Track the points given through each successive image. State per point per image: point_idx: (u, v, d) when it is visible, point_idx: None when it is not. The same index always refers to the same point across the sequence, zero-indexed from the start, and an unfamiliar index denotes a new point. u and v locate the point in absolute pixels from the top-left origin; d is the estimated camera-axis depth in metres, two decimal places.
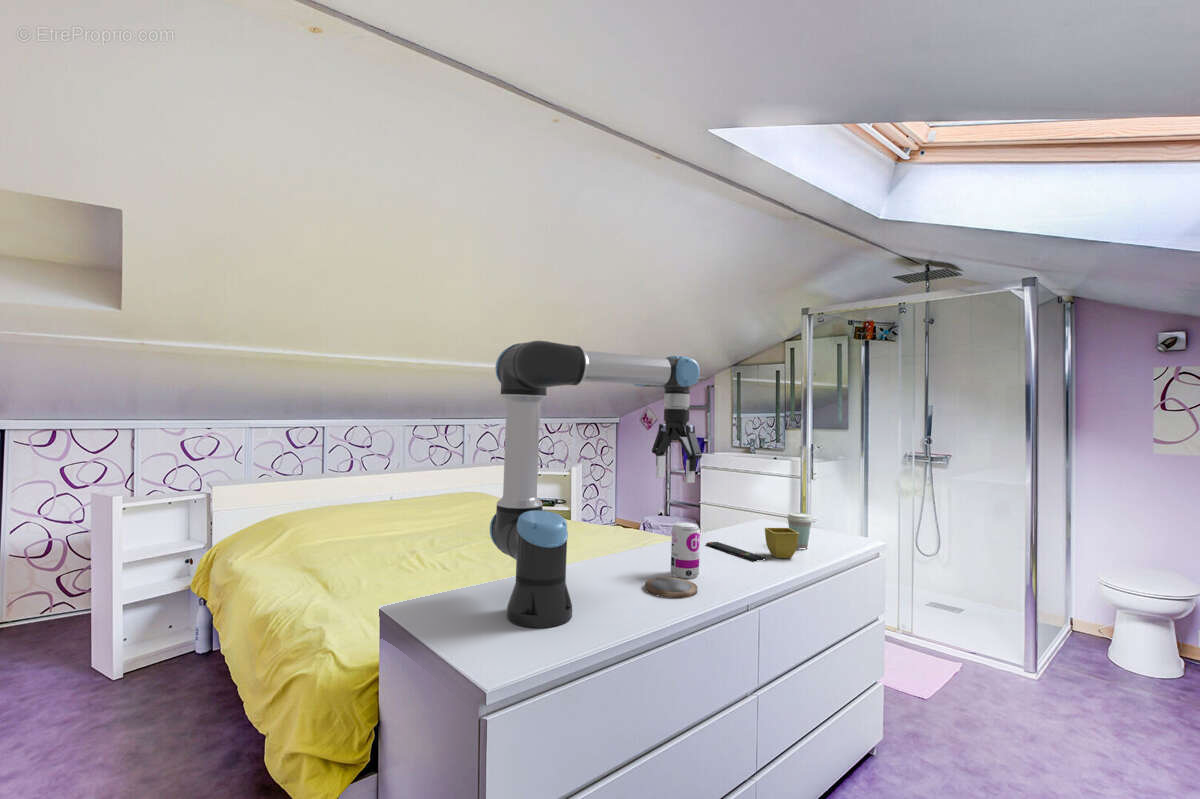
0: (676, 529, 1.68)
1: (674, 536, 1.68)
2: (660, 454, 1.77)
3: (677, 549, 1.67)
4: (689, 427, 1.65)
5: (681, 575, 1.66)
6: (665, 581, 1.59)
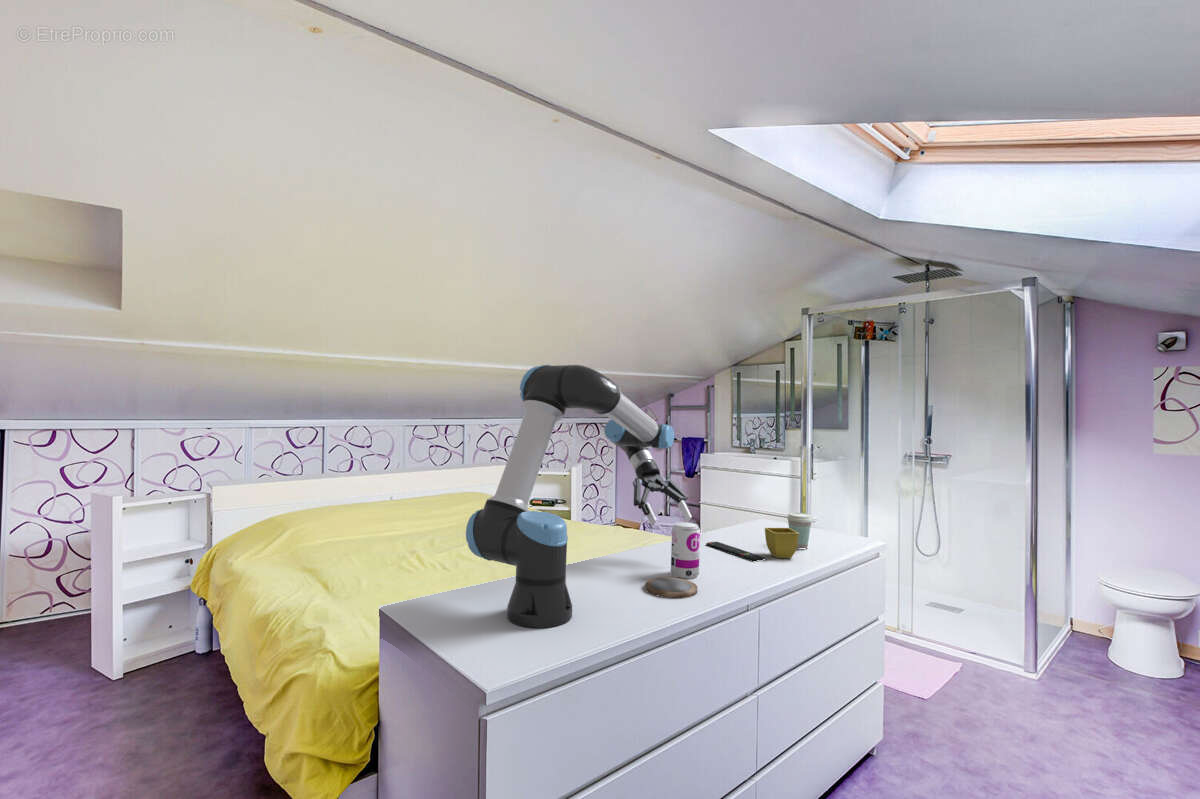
0: (676, 529, 1.68)
1: (674, 536, 1.68)
2: None
3: (677, 549, 1.67)
4: None
5: (681, 575, 1.66)
6: (665, 581, 1.59)
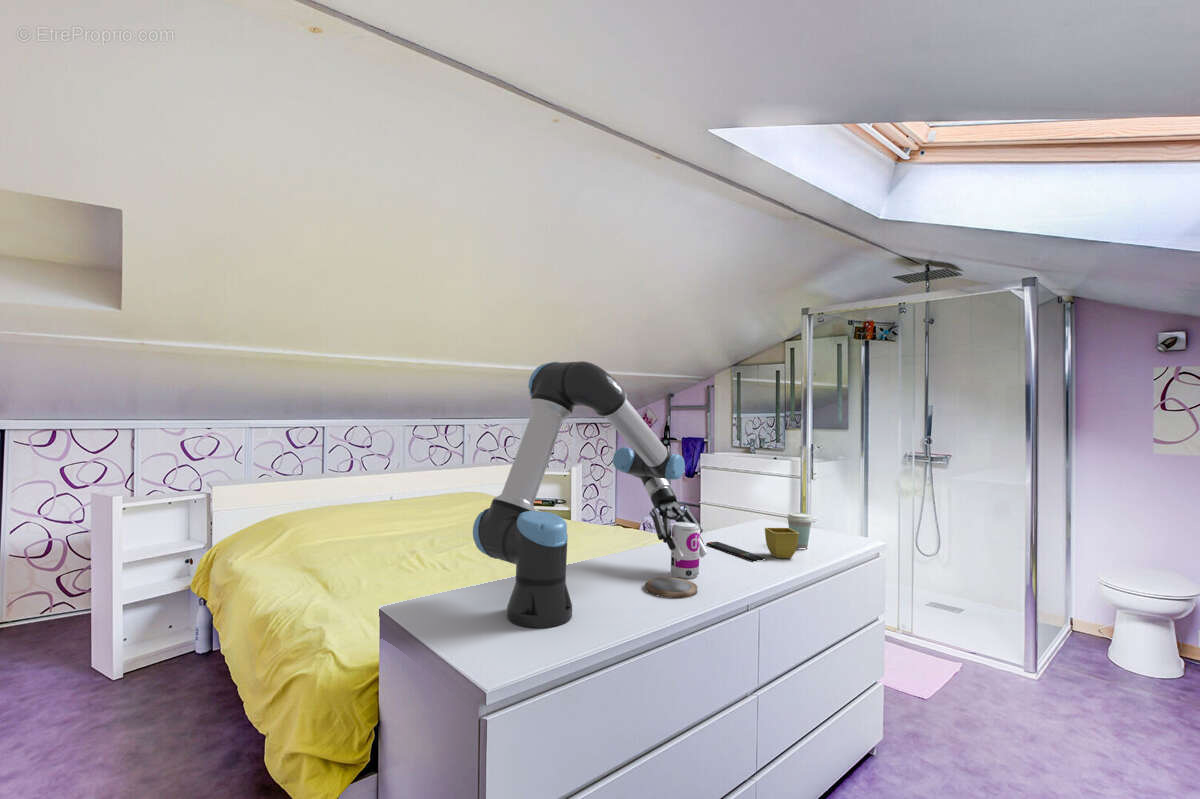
0: (676, 529, 1.68)
1: (674, 536, 1.68)
2: None
3: None
4: None
5: (681, 575, 1.66)
6: (665, 581, 1.59)
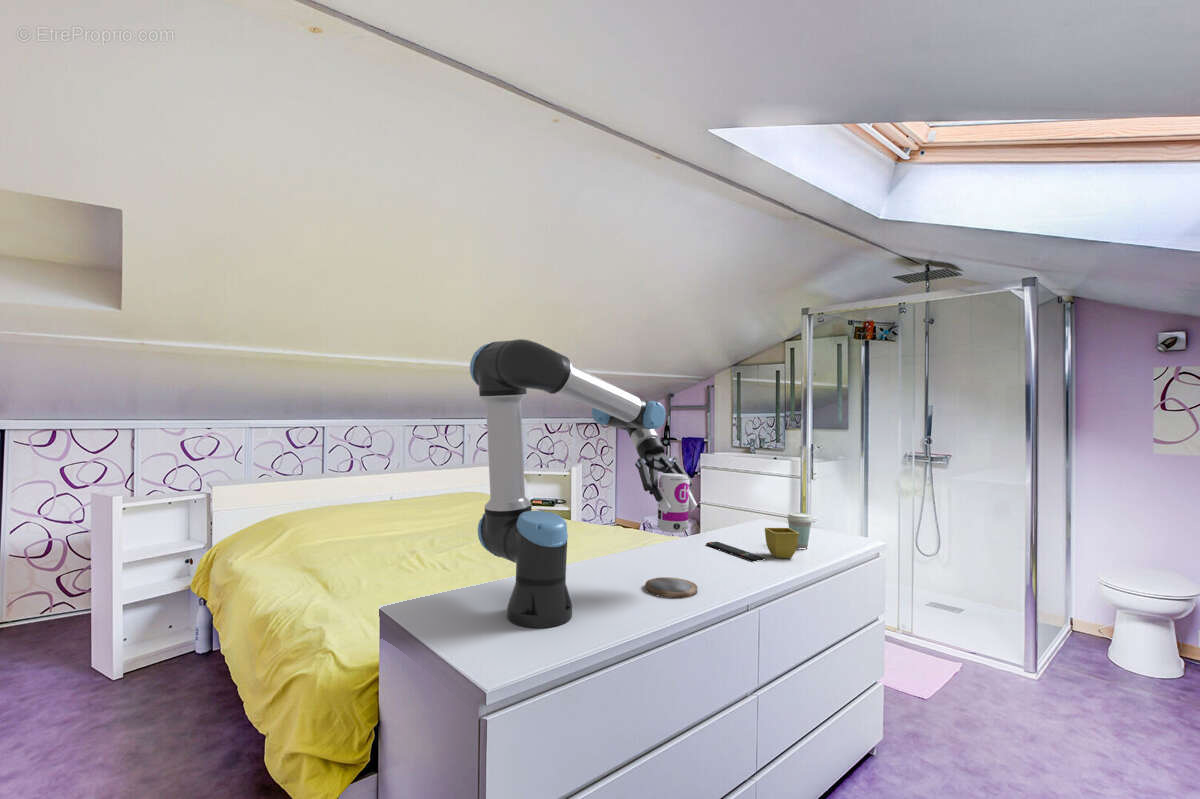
0: (663, 479, 1.54)
1: (661, 487, 1.54)
2: None
3: None
4: None
5: (668, 529, 1.52)
6: (665, 581, 1.59)
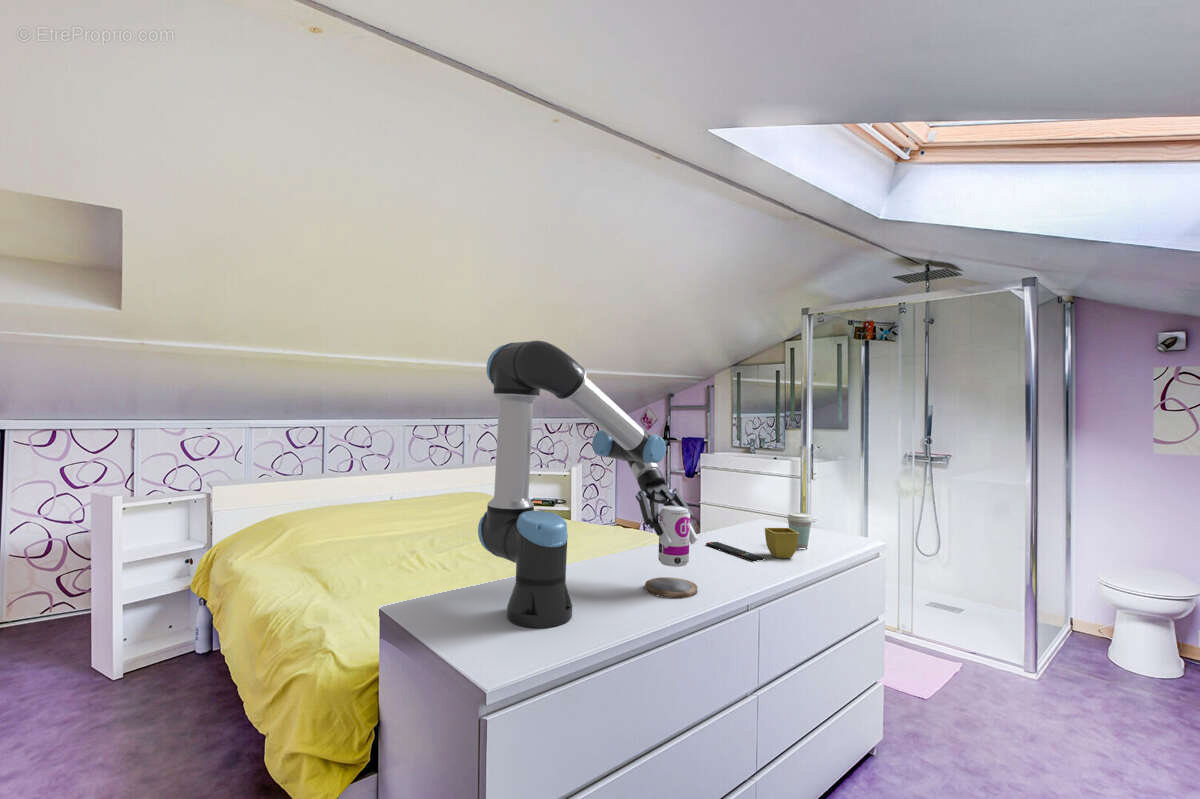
0: (664, 513, 1.54)
1: (662, 521, 1.55)
2: None
3: None
4: None
5: (669, 563, 1.53)
6: (665, 581, 1.59)
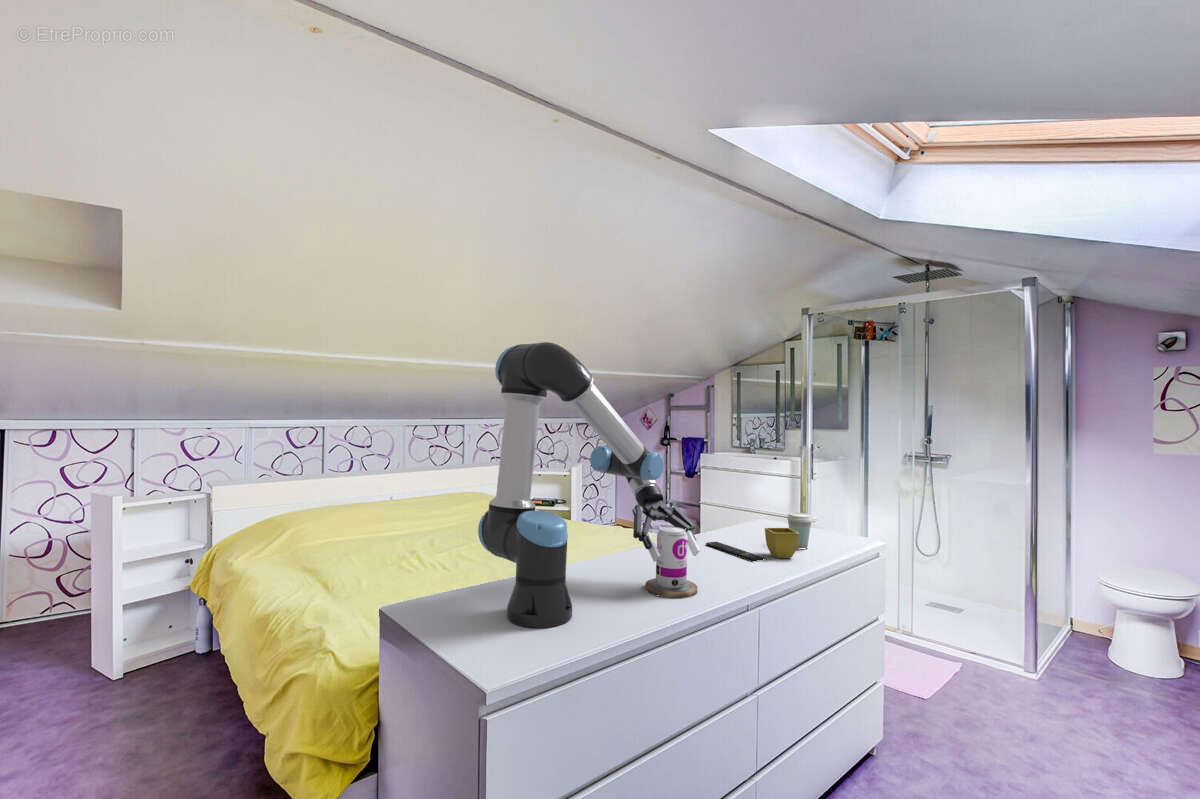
0: (661, 534, 1.54)
1: (659, 542, 1.54)
2: None
3: (663, 556, 1.53)
4: None
5: (667, 585, 1.52)
6: None
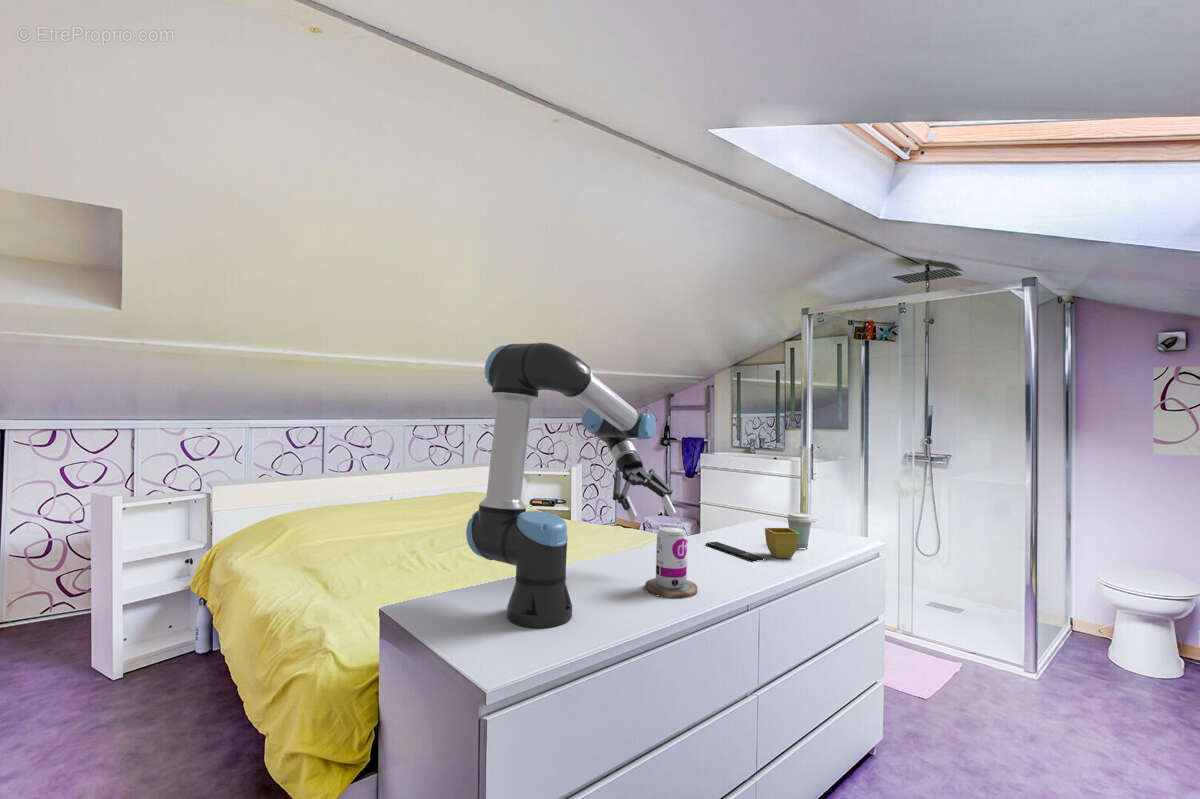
0: (661, 534, 1.54)
1: (659, 542, 1.54)
2: None
3: (663, 556, 1.53)
4: None
5: (667, 585, 1.52)
6: None
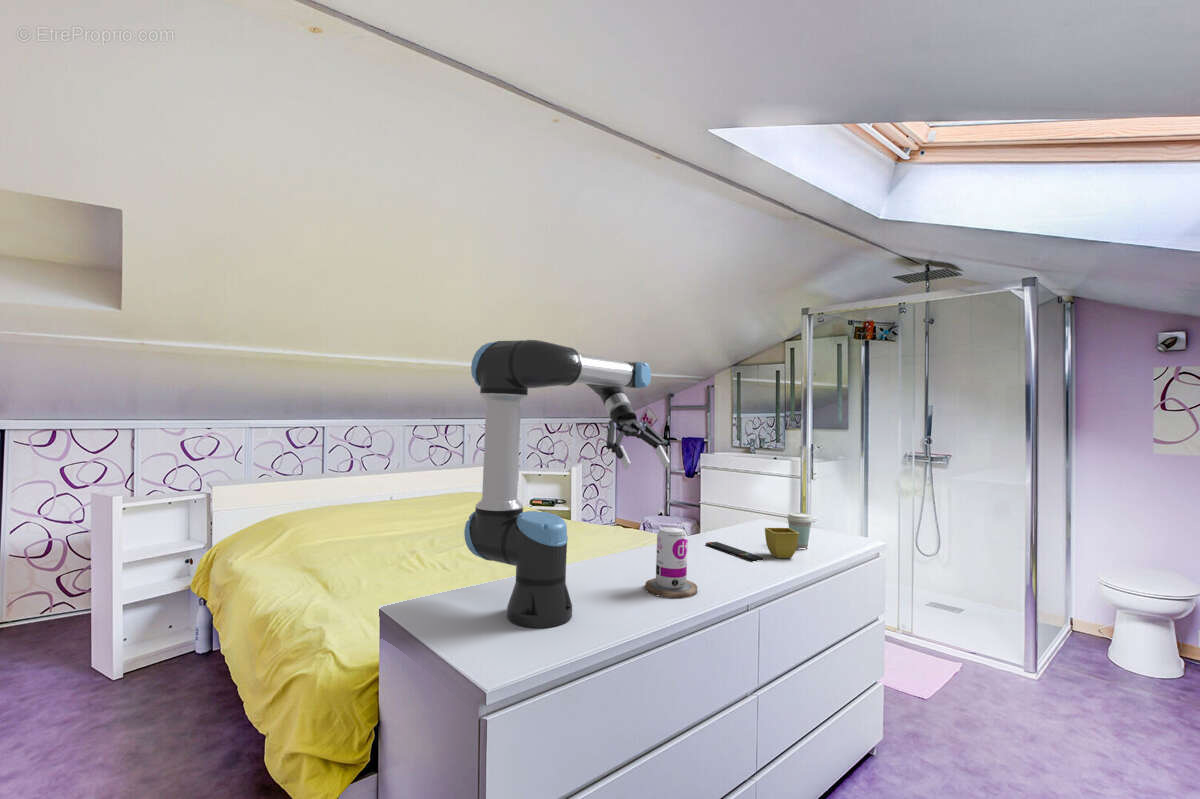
0: (661, 534, 1.54)
1: (659, 542, 1.54)
2: None
3: (663, 556, 1.53)
4: None
5: (667, 585, 1.52)
6: None
